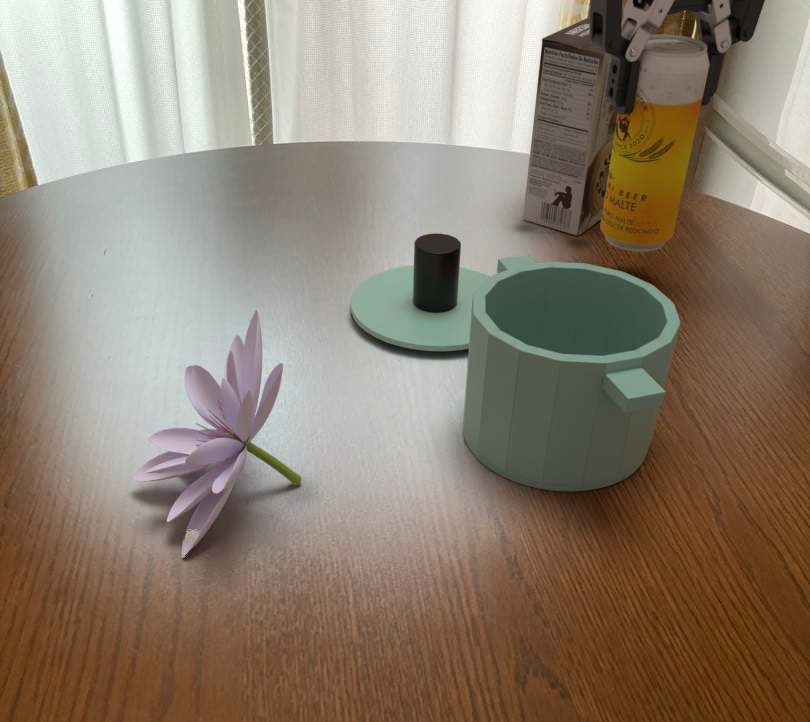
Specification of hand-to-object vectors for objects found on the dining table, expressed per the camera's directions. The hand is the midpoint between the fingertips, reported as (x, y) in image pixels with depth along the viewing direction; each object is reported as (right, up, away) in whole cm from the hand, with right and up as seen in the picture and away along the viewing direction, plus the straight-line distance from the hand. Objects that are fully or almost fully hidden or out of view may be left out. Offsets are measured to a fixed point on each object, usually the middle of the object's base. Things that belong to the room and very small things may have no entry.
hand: (659, 106), depth 71 cm
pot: (-9, -26, -8) cm, 29 cm away
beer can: (0, -8, +7) cm, 11 cm away
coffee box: (-3, -1, +20) cm, 20 cm away
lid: (-17, -15, +4) cm, 23 cm away
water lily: (-31, -30, -13) cm, 45 cm away
